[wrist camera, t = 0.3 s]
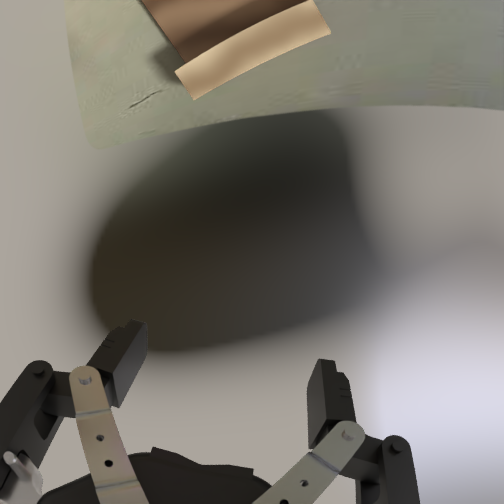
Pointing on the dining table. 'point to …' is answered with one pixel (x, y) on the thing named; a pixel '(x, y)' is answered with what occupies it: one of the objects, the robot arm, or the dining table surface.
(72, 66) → the dining table surface
